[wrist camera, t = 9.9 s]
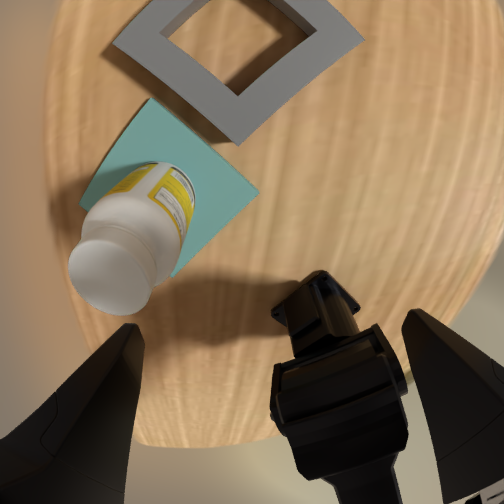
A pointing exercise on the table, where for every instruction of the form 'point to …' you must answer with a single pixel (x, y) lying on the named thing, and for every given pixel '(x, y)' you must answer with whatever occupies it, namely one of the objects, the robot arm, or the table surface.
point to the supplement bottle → (133, 238)
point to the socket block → (262, 89)
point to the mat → (184, 157)
